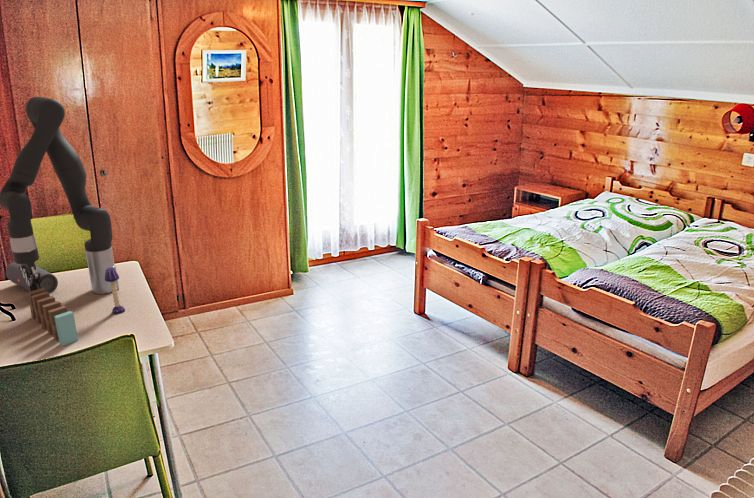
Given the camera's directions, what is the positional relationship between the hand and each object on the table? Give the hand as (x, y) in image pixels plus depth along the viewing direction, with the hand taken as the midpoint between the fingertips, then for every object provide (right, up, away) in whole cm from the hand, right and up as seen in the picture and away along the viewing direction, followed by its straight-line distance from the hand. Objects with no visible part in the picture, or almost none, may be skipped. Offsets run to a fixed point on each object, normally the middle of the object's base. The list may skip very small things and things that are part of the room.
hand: (34, 294), depth 204 cm
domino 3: (+9, -10, -5) cm, 14 cm away
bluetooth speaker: (-13, 0, +23) cm, 26 cm away
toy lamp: (+27, -7, +6) cm, 28 cm away
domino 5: (+16, -13, -12) cm, 24 cm away
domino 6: (+20, -14, -15) cm, 29 cm away
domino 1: (+1, -8, +2) cm, 8 cm away
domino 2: (+5, -9, -1) cm, 10 cm away
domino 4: (+13, -12, -8) cm, 19 cm away
